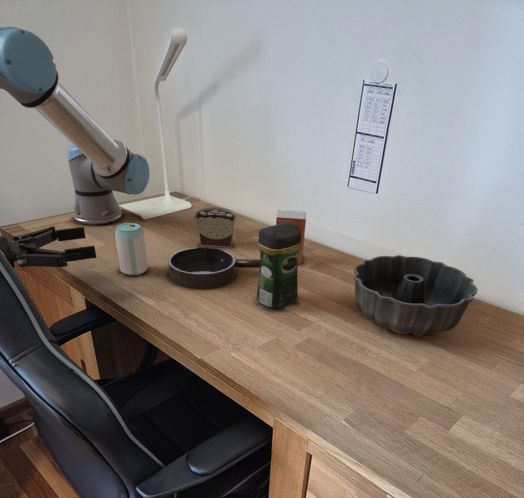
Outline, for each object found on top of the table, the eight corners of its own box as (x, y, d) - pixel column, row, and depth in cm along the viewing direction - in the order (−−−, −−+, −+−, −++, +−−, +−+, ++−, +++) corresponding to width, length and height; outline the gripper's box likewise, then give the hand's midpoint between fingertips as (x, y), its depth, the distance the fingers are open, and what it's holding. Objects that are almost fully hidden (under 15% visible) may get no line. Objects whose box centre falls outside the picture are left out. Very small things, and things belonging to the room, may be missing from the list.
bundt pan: (326, 299, 111) (331, 260, 106) (415, 284, 120) (424, 248, 114) (389, 358, 91) (400, 315, 86) (490, 336, 100) (505, 295, 94)
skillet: (172, 260, 127) (171, 247, 124) (234, 260, 128) (234, 247, 126) (166, 289, 112) (165, 274, 110) (236, 288, 114) (236, 274, 112)
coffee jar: (280, 289, 115) (284, 216, 104) (302, 301, 110) (309, 226, 99) (250, 300, 109) (252, 224, 99) (272, 313, 104) (276, 235, 94)
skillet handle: (233, 269, 119) (233, 261, 118) (233, 265, 121) (233, 257, 120) (283, 269, 120) (284, 261, 119) (282, 265, 122) (283, 258, 121)
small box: (273, 262, 128) (275, 216, 121) (274, 253, 133) (276, 209, 126) (302, 264, 128) (306, 218, 120) (301, 255, 133) (306, 211, 126)
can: (120, 266, 122) (113, 222, 115) (147, 264, 124) (142, 221, 117) (120, 277, 117) (113, 232, 110) (148, 275, 118) (143, 230, 111)
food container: (239, 240, 141) (239, 208, 135) (236, 248, 136) (236, 215, 130) (200, 237, 142) (198, 205, 136) (195, 245, 136) (194, 212, 131)
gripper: (-6, 250, 113) (83, 239, 122) (-1, 292, 95) (102, 276, 104) (-15, 220, 109) (78, 211, 118) (-12, 259, 91) (97, 244, 100)
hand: (89, 241), depth 111 cm, fingers open, 13 cm apart
